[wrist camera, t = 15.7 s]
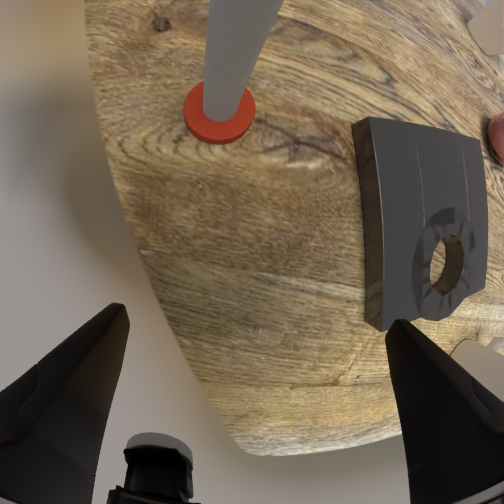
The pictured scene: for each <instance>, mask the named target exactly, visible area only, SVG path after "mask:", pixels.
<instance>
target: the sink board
mask: <svg viewBox="0 0 504 504" xmlns="http://www.w3.org/2000/svg"><path fill="white" fill-rule="evenodd" d="M352 131H353V137H354V143H355V149H356V156H357V163H358V171H359V179H360V188H361V197H362V209H363V222H364V238H365V265H366V305H365V322H367V323H368V324H370V325H371V326H372V327H374V328H375V329H377V330H378V331H380V332H383V331H386V330H389V329H390V327H391V325H392V323H393V322H394V321H395V320H396V319H406V320H407V321H409V322H411V321H413V320H416V319H418V318H423V319H425V320H431V321H439V320H441V319H443V318H446V317H448V316H450V315H451V314H452V312H453V311H454V310H455V309H456V308H457V307H458V306H459V305H460V304H461V302H462V301H463V299H464V298H466V297H468V296H470V295H472V294H474V293H476V292H478V291H480V290H482V289H484V288H485V280H486V269H487V254H488V206H487V190H486V180H485V171H484V163H483V156H482V150H481V145H480V140H478V139H475V138H472V137H469V136H465V135H462V134H458V133H455V132H451V131H447V130H443V129H439V128H434V127H430V126H425V125H420V124H415V123H409V122H404V121H398V120H392V119H385V118H378V117H370V116H368V117H366V118H364V119H362V120H360V121H358V122H356V123H354V124H352ZM442 238H443V240H444V242H445V246H446V250H447V259H446V265H445V269H444V272H443V274H442V276H441V278H440V280H439V281H438V282H437V283H436V284H435V285H434V286H433V287H432V285H431V281H430V264H431V260H432V256H433V252H434V250H435V248H436V246H437V244H438V243H439V241H440V240H441V239H442Z"/></svg>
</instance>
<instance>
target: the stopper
mask: <svg viewBox="0 0 504 504" xmlns="http://www.w3.org/2000/svg"><path fill="white" fill-rule="evenodd" d="M283 1H284V0H210V4H209V14H208V25H207V37H206V51H205V67H204V82H202V83H200V84H198V85H197V86H196V87H194V88H193V89H192V90H191V91H190V93H189V94H188V96H187V98H186V101H185V104H184V115H185V121H186V124H187V126H188V128H189V130H190V131H191V133H192V134H193V135H194V136H196V137H197V138H198V139H200V140H202V141H204V142H207V143H211V144H226V143H230V142H232V141H235V140H237V139H238V138H240V137H241V136H242V135H243V134H244V133H245V132H246V131H247V130H248V128H249V126H250V125H251V123H252V121H253V119H254V115H255V103H254V99H253V97H252V95H251V94H250V92H249V91H248V90H247V89H246V85H247V83H248V80H249V78H250V76H251V73H252V71H253V68H254V66H255V63H256V61H257V59H258V56H259V54H260V52H261V49H262V47H263V45H264V42H265V40H266V38H267V36H268V33H269V31H270V29H271V27H272V25H273V22H274V20H275V18H276V16H277V14H278V12H279V10H280V7H281V5H282V3H283Z"/></svg>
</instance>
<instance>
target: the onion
mask: <svg viewBox="0 0 504 504" xmlns="http://www.w3.org/2000/svg"><path fill="white" fill-rule="evenodd" d="M487 139H488V143H489V147H490V151H491V155H492V156H493V157H494V158H495V159H496V160H497V161H498V162H499V163H500V164H501V165H502V166H503V167H504V112H503V113H501V114H498V115H497V116H495V117H494V118H493V119H492V120H491V121H490V123H489V126H488V133H487Z"/></svg>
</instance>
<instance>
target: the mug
mask: <svg viewBox="0 0 504 504" xmlns="http://www.w3.org/2000/svg"><path fill="white" fill-rule="evenodd" d="M503 346H504V337H494V338H493V339H492V340H491V342H490V343H489V344H488V345H487V346H486V347H485V346H483V345H481V344H479V343H476V342H474V341H472V340H469V339H466V340H464V341H462V342H461V343H460V344H459V345H458V346H457V347H456V348H455V350H454V351H453V352H452V354H451V356H450V357H452V358H453V359H454V360H455V361H456V362H457V363H458V364H460V365H461V366H462V367H463V368H464V369H465V370H466V371H467V372H469V373H470V374H471V376H473V377H474V378H475V379H476V380H477V381H479V382H480V383H481V384H482V385H483V386H484V387H485V388H487V389H488V390H489V391H490V392H492V393H493V394H494V395H495V396H497V397H498V398H499V399H500V400H502V401H503V402H504V355H502V354H500V353H498V352H495V351H496V350H497V349H498V348H500V347H503Z"/></svg>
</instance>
